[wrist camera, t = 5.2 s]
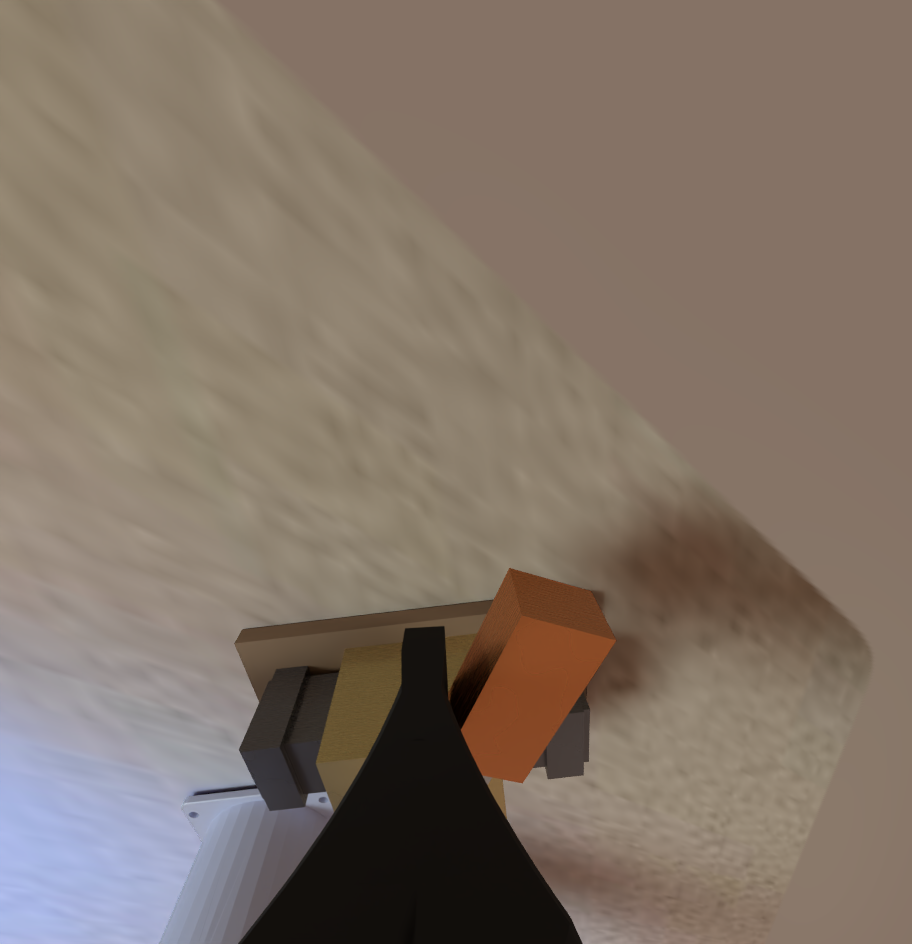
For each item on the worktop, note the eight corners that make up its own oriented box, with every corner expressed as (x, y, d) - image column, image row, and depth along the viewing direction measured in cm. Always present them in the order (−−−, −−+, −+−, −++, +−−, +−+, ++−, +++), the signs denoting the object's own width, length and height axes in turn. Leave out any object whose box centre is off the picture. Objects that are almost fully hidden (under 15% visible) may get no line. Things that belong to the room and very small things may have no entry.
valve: (565, 703, 20) (607, 839, 15) (295, 735, 20) (249, 880, 15) (564, 623, 18) (612, 748, 13) (264, 658, 18) (199, 796, 13)
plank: (581, 701, 21) (586, 715, 20) (285, 735, 21) (280, 751, 21) (582, 589, 18) (587, 602, 18) (242, 629, 19) (234, 643, 18)
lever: (441, 853, 15) (441, 915, 13) (368, 842, 14) (360, 905, 13) (597, 593, 10) (624, 642, 9) (501, 565, 10) (512, 613, 9)
